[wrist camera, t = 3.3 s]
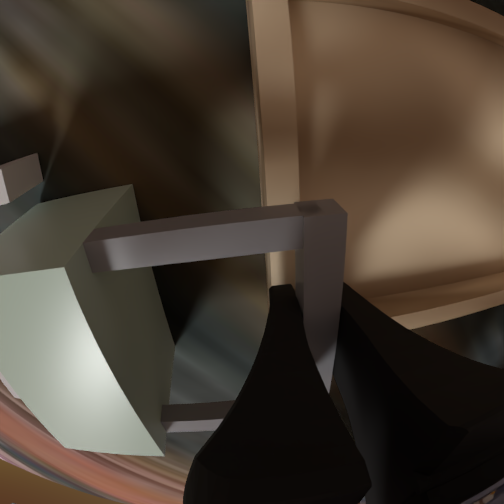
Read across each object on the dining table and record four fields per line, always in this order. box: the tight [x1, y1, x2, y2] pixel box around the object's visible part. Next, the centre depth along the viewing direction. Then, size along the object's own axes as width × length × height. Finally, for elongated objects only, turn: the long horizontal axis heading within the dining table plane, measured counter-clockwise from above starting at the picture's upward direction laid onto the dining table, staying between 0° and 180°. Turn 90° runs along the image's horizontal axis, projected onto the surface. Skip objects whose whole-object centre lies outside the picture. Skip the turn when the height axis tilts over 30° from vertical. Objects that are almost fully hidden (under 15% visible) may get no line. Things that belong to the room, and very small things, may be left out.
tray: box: [246, 0, 504, 330], centre depth 10 cm, size 14×16×2 cm
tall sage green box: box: [0, 184, 348, 456], centre depth 10 cm, size 10×8×6 cm
